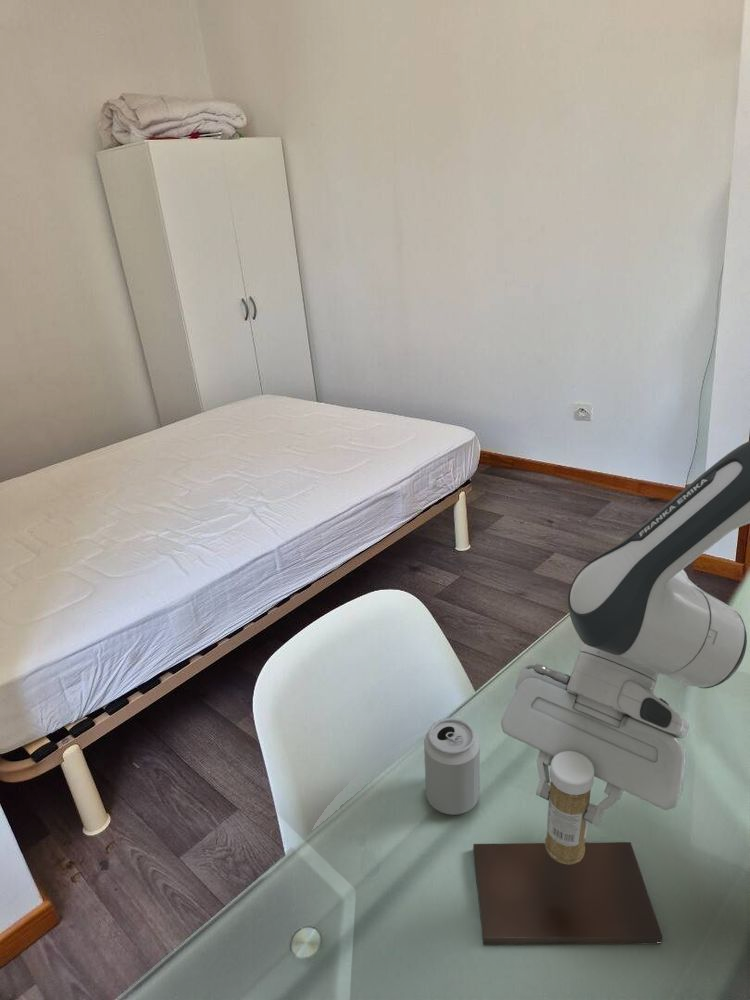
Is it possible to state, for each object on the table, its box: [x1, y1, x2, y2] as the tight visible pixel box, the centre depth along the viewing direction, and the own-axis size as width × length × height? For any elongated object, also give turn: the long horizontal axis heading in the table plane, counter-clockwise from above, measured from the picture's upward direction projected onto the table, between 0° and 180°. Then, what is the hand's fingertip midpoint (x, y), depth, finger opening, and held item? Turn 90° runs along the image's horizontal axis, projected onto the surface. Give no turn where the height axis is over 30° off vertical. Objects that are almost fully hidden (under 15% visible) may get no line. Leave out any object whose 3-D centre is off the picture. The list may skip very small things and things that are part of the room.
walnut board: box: [472, 841, 664, 945], centre depth 83 cm, size 20×12×1 cm, turn 88°
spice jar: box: [544, 751, 595, 865], centre depth 77 cm, size 5×5×14 cm
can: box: [423, 717, 481, 816], centre depth 94 cm, size 8×8×12 cm
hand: (566, 810), depth 76 cm, fingers closed on spice jar, 4 cm apart
